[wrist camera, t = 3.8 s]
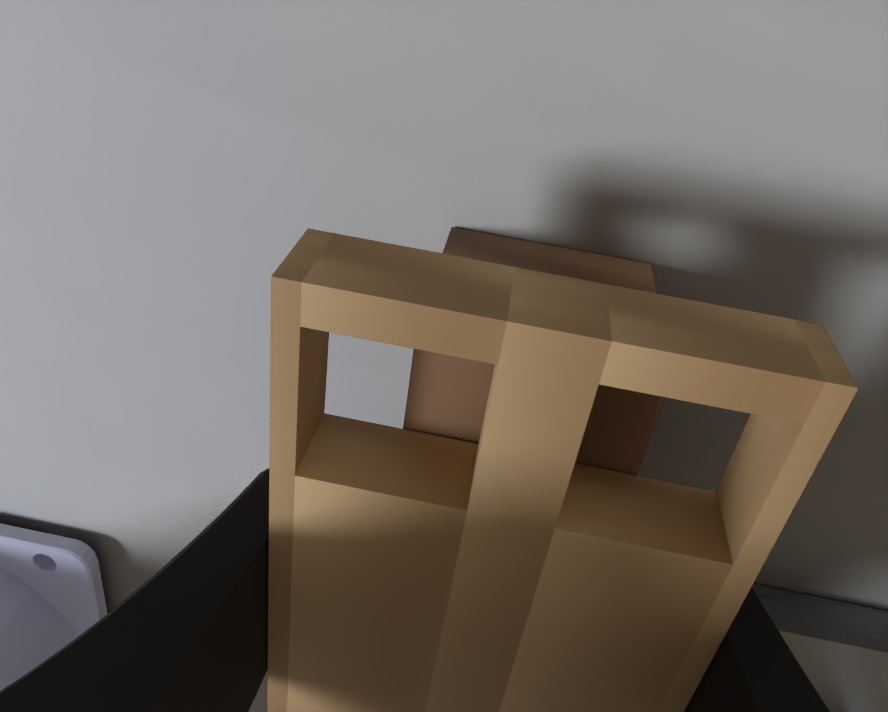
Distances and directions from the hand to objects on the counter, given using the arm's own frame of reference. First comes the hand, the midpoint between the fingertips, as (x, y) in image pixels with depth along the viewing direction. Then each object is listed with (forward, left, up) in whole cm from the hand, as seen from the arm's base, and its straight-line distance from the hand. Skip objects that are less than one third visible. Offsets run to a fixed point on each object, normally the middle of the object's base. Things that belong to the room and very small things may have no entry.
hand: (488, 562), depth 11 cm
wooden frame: (0, 0, 0) cm, 0 cm away
